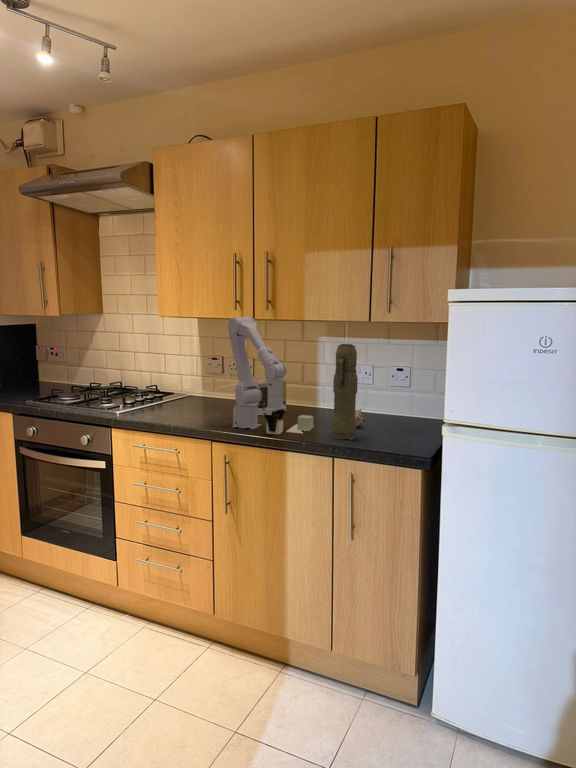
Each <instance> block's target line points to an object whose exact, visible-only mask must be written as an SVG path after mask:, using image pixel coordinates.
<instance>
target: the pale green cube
mask: <svg viewBox="0 0 576 768" xmlns="http://www.w3.org/2000/svg"><path fill="white" fill-rule="evenodd" d="M297 424H298V430H304V431H310V430H311V429H312V428H313V426H314V415H306V414H301V415H299V416H297Z"/></svg>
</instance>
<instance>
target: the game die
mask: <svg viewBox="0 0 576 768" xmlns="http://www.w3.org/2000/svg"><path fill="white" fill-rule="evenodd" d="M355 419H356V428H358V426H360V425H361V424H362V423H363V422H366V420H364V417H363V415H362V408H361V409H359V410H358V409H355Z"/></svg>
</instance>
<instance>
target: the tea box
mask: <svg viewBox="0 0 576 768" xmlns="http://www.w3.org/2000/svg"><path fill="white" fill-rule="evenodd" d="M254 381H255V382H256V383H257V384H258V386H259V389H260V390H261V393H262V399H261V401H260V402H259V405H258V415H259V416H258V417H261V416H260V415H262V416H264V413H266V409H267V406H268V383H267V379H259V380H254ZM286 385H287V382H286V380H283V406H284V407H285V409H283V410H285V413H287V389H286V387H287V386H286ZM246 389H249V388H246Z"/></svg>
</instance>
